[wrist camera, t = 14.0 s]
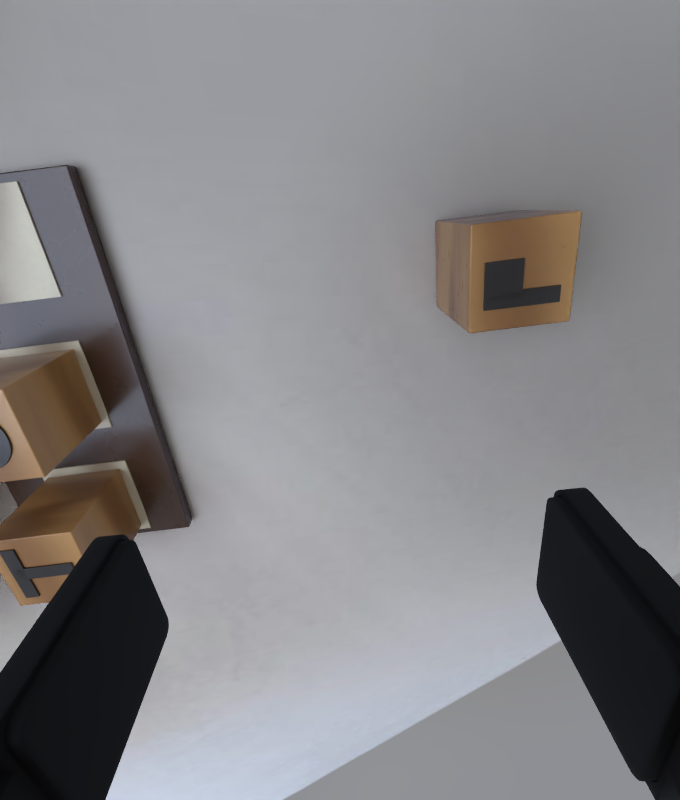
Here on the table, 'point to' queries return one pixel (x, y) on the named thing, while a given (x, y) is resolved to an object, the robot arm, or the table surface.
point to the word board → (81, 337)
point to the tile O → (42, 412)
